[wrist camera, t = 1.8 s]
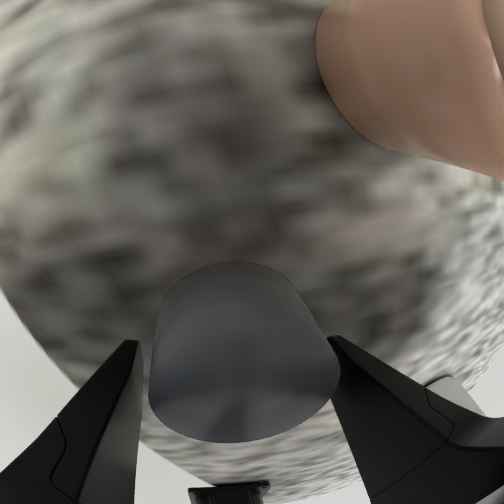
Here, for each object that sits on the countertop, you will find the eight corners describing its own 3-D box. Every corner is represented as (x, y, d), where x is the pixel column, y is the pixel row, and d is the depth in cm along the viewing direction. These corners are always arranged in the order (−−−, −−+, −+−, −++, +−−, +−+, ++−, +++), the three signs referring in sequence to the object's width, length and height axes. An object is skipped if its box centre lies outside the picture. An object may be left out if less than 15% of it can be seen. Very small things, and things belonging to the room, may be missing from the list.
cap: (286, 371, 10) (311, 432, 7) (162, 374, 9) (161, 443, 6) (317, 262, 8) (367, 321, 6) (153, 257, 7) (134, 327, 5)
